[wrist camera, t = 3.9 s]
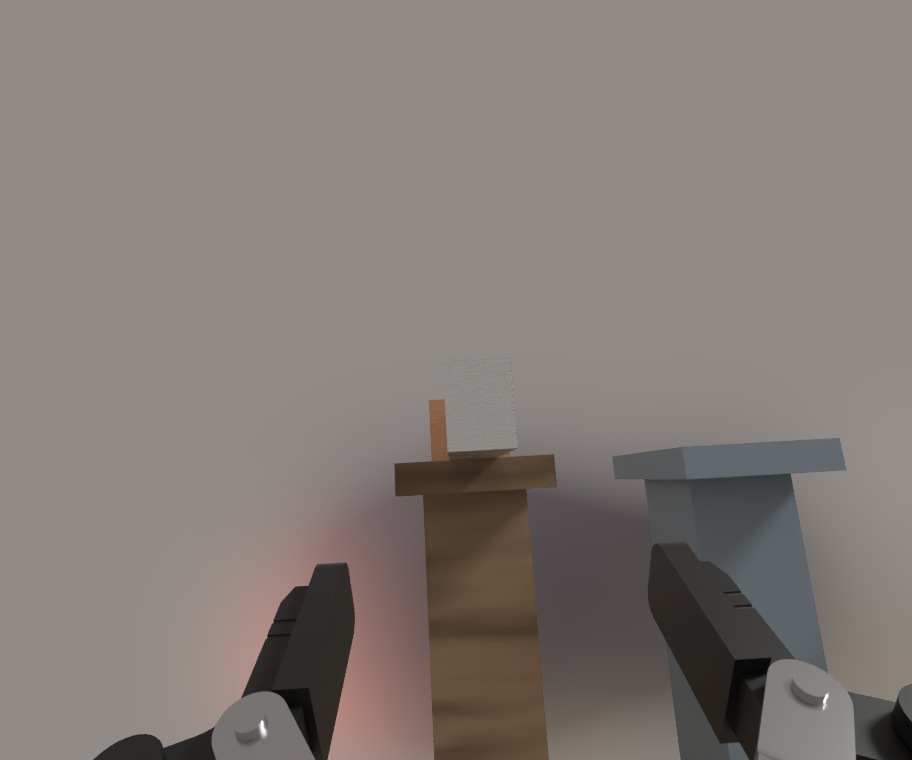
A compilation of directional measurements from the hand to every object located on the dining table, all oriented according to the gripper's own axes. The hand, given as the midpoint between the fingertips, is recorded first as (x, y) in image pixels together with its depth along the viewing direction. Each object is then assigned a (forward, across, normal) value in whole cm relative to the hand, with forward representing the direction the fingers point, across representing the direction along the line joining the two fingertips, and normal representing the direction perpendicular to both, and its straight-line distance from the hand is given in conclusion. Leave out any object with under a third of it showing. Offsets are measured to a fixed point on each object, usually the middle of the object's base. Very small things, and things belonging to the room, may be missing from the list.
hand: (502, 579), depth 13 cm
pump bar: (+18, 0, -6) cm, 19 cm away
